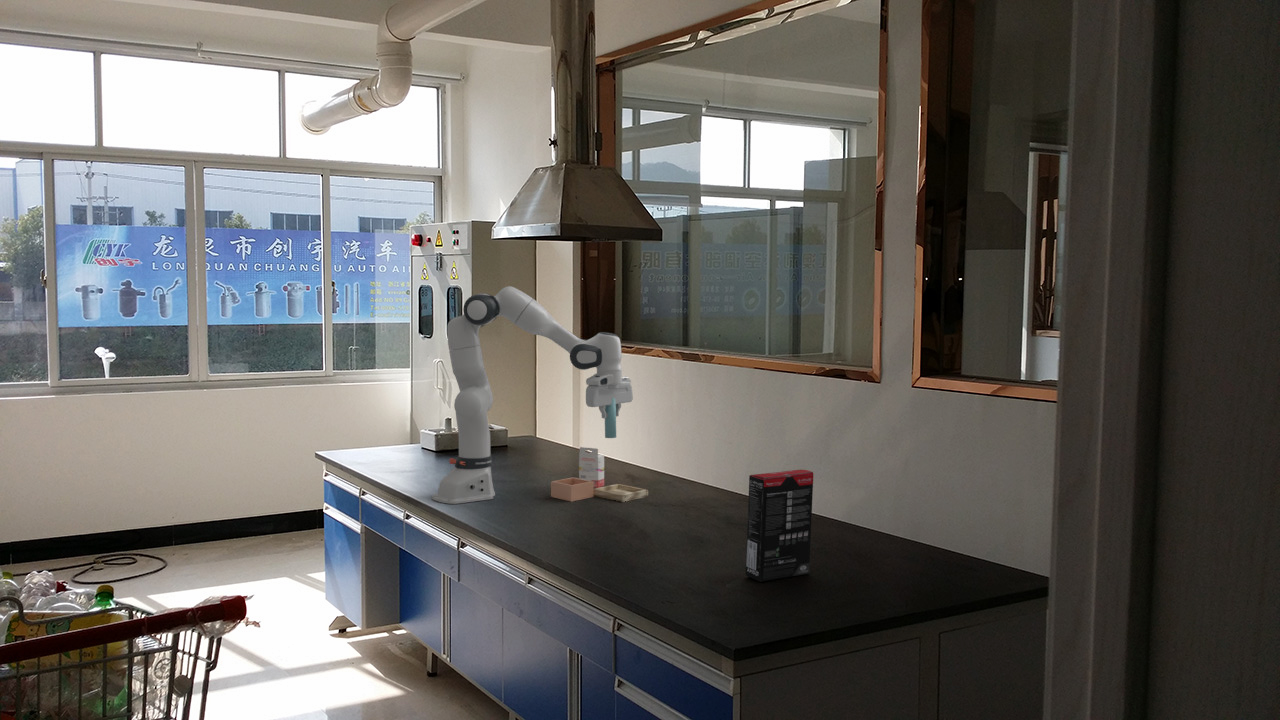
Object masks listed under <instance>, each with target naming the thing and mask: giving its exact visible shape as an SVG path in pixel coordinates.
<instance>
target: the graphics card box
mask: <svg viewBox="0 0 1280 720" xmlns="http://www.w3.org/2000/svg"><path fill="white" fill-rule="evenodd" d="M748 477H749V479H748V503H747V507H748V509H747V528H746V529H747V530H746V531H747V532H746V536H747V537H746V552H745V553H746V556H745V559H746V560H745V576H746V577H748V578H751V579H752V580H755V581H757V582H759V583H762V582H767V581H773V580H779V579H786V578H792V577H795V576H796V577H797V576H803V575H807V574H809V573H810V566H811V565H810V562H811V560H810V559H811V539H812V537H811V535H812V517H813V514H812V513H813V494H814V492H813V491H814V490H813V489H814V471H811V470H807V469H793V470H784V471H777V472H774V471H773V472H766V473H755V474H750V475H749V476H748Z"/></svg>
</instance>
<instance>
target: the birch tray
mask: <svg viewBox="0 0 1280 720" xmlns="http://www.w3.org/2000/svg"><path fill="white" fill-rule="evenodd" d="M593 497H596V498H601V499H605V498H606V500H609V501H614V500H616V501H615V502H619V501H620V502H621V503H625V501H626V502H630V501H634V500H639V499H644V498H648V497H649V490H648V489H646V488H641V487H636V486H631V485H626V484H621V483H616V484H611V485H604V486H602V487H599V488H594V491H593ZM620 502H619V503H620Z"/></svg>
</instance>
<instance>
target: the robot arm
mask: <svg viewBox="0 0 1280 720" xmlns="http://www.w3.org/2000/svg"><path fill="white" fill-rule="evenodd" d="M462 309H463V314H462V315H460V316H455V317H453V318H452V319H451V320H449V321H448V323H447V328H446V331H447V333H446V334H447V335H446V336H447V345H448V351H449V352H448V353H449V356H450V363H451V369H452V373H453V375H454V377H455V380H456V382H457V385H458V386H457V387H458V389H459V393H457V395H456V397H455V399H454V403H453V406H454V407H453V408H454V411H455V419H456V426H457V431H458V433H457V434H458V456H457V458H453V457H451V458H449V460H448V462H449V464H450V465H454V468H453V469H451V470H450V472H448V474H447V475H445V476H444V477H443V478H442V479H441V480H440V482H439V485H438V493H436V494H432V495H431V500H433V501H435V502H439V503H443V504H450V505H458V504H464V503H465V504H466V503H472V502H473V503H474V502H478V501H479V502H480V501H487V500H493V499H494V497H495V496H496V492H495V489H494V485H493V479H492V462H493V460H492V459H493V458H492V454H491V431H490V427H489V420H488V419H489V418H488V411H490V409H491V408H492V406H493V404H494V394H493V392H492V388H491V385H490V380H489V378H488V375H487V372H486V368H485V364H484V358H483V353H482V347H481V341H480V335H479V334H480V333H479V332H480V328H483V327H484V326H486V325H489V324H490V323H492V322H494V321H495V320H496V319H497V318H498V317H503V318H505V319H507V320H508V321H510V322H511V323H513V324H514V325H515V326H517V327H518V328H520V329H521V330H523V331H525V332H527V333H528V334H531V335H536V336H540V337H544V338H547V339H549V340H550V341H552V342H553V343H555V344H556V345H558V346H559V347H561V348H562V349H563V350H564V351H566V352H568V354H569V361H570V362H571V364H572V366H573V367H575V368H576V369H579V370H581V371H587V370H589V369H593V368H596V373H594V374H593V375H591V376H590V377H588V378H586V379H585V380H586V381H585V384H586V385H587V386H586V389H585V404H586V406H587V407H590V408H598V410H599V411H600V413H601V419H604V420H605V418H608V413H606V411H605V409H606V405H611V404H612V398H615V404H616V418H617V417H619V415H620V413H619V412H620V410H621V408H622V404H625V403H631V402H633V399H634V393H633V387H632V384H631V383H632V381H631V379H630V378H629V377H628V376H623V368H622V365H621V362H622V357H623V356H622V344H621V343H622V342H621V339H620V337H619V336H618V335H617V334H616V333H612V332H606V331H605V332H604V331H601V332H598V333H597V334H596V335H594V336H593V337H591V338H589V339H583V338H580V337H578V336H576V335H575V334H574V333H573V332H571V331H570V330H568V329H567V328H566V327H564V326H563V325H561V324H560V323H559V322H558V321H557V320H556V319H555V318H554V317H553V316H552V315H551V314H550V313H549V311H547V310H546V308H545V307H544V306H543V305H542V304H540V303H539V302H538V301H537V300H536V299H534V298H533V297H531V295H528V294H527V293H525V292H524V291H522V290H520V289H518V288H517V287H514V286H512V285H511V286H509V285H508V286H505V287H503V288H502V289H501V290H500V291H498V292H497V294H496V295H491V294H488V293H483V292H482V293H481V292H480V293H476V294H472V295H471V296H470V297H467V299H466V301H465V302H464V304H463V308H462Z"/></svg>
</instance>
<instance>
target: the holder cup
mask: <svg viewBox="0 0 1280 720" xmlns="http://www.w3.org/2000/svg"><path fill="white" fill-rule="evenodd" d="M594 489H595V488H594V482H593V481H588V480H583V479H579V477H567V478H563V479H557V480H553V481H551V482H550V490H551V491H550V497H551V498H555V499H559V500H562V501H563V500H564V501H567V502H575V501H581V500H585V499H590V498H594V496H593V491H594Z"/></svg>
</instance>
